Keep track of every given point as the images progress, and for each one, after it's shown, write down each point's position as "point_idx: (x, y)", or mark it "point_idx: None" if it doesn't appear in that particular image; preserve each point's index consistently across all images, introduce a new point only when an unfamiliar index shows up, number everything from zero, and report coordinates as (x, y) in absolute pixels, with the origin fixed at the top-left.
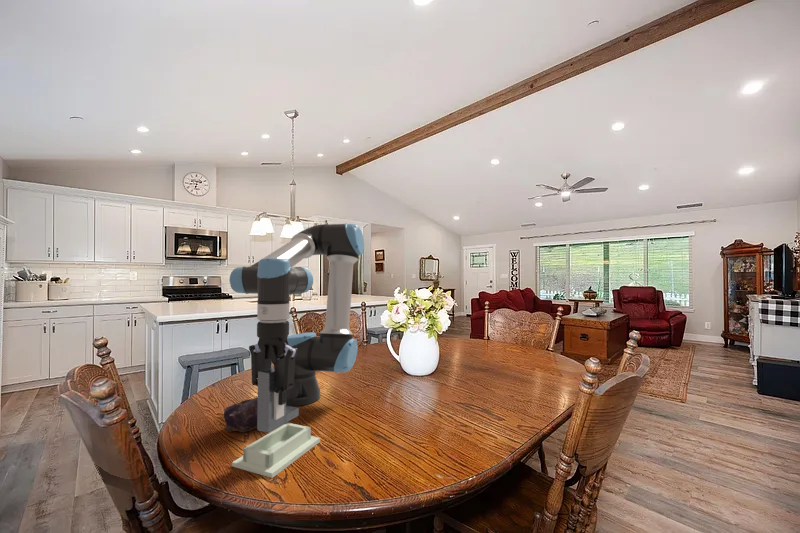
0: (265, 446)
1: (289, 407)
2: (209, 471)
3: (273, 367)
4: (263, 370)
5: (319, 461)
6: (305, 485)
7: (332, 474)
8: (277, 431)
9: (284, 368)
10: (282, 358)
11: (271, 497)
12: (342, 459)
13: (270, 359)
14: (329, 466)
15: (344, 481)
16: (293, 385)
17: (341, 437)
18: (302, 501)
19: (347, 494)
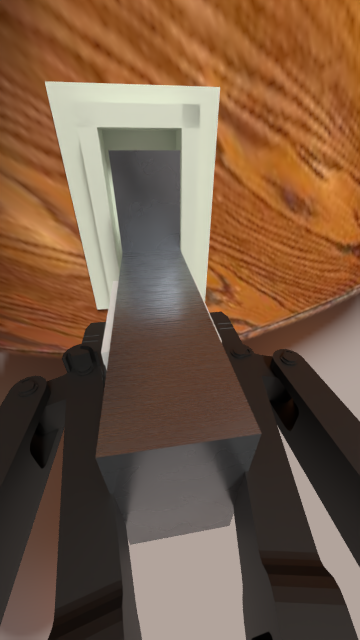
0: (117, 245)
1: (132, 168)
2: (76, 331)
3: (142, 486)
4: (143, 530)
5: (264, 205)
6: (271, 286)
7: (309, 238)
8: (107, 196)
9: (340, 527)
10: (329, 635)
11: (234, 328)
12: (318, 170)
13: (130, 633)
14: (294, 214)
15: (337, 247)
16: (301, 358)
17: (279, 3)
18: (283, 315)
19: (348, 275)
